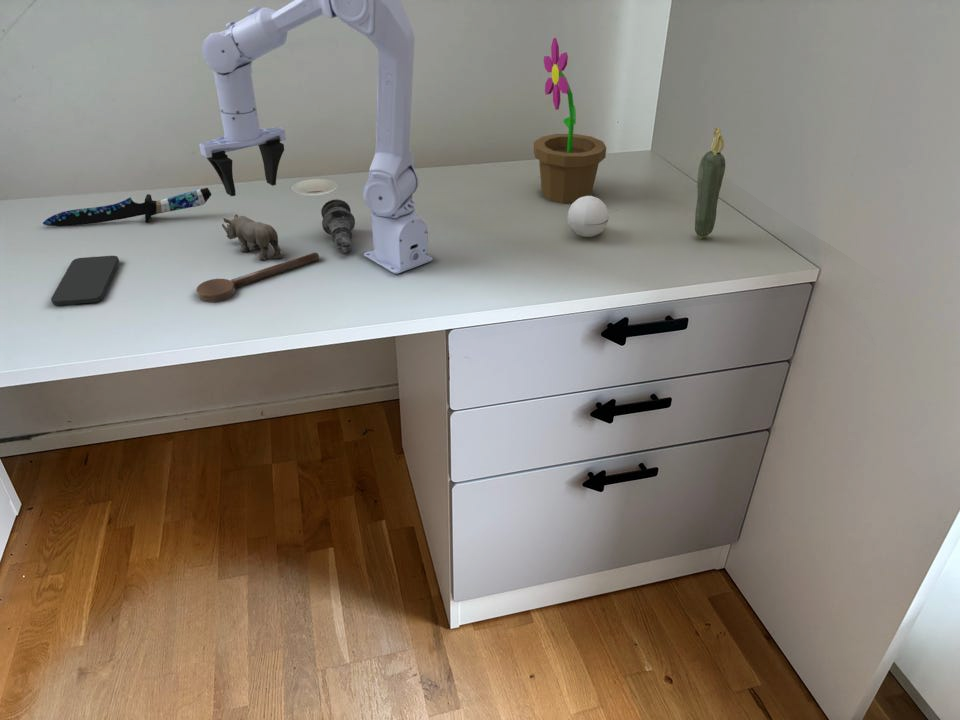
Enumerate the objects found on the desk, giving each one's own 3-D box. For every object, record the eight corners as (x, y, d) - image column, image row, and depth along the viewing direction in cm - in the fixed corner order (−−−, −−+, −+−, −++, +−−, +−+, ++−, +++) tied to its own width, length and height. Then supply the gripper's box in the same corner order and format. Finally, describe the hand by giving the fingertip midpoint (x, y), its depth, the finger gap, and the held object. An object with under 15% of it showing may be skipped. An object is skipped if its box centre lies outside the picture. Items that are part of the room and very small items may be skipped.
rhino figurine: (235, 235, 139) (230, 204, 136) (287, 256, 132) (282, 223, 129) (217, 243, 136) (210, 211, 133) (268, 264, 129) (263, 231, 126)
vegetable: (712, 245, 137) (733, 134, 126) (687, 243, 138) (706, 132, 126) (710, 235, 140) (731, 126, 129) (686, 233, 141) (705, 124, 130)
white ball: (574, 246, 136) (577, 207, 132) (560, 229, 142) (563, 191, 138) (626, 240, 138) (631, 201, 134) (610, 224, 144) (614, 186, 140)
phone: (48, 302, 116) (73, 258, 129) (50, 306, 117) (74, 262, 129) (100, 298, 118) (119, 254, 130) (101, 302, 118) (121, 259, 130)
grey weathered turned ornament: (334, 230, 142) (343, 271, 134) (312, 211, 138) (320, 251, 130) (358, 212, 141) (369, 252, 133) (337, 192, 136) (347, 232, 128)
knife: (216, 207, 147) (209, 184, 144) (214, 213, 144) (206, 190, 142) (53, 231, 145) (43, 209, 142) (48, 237, 142) (38, 215, 140)
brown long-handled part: (310, 253, 133) (309, 246, 132) (327, 264, 129) (327, 257, 129) (191, 292, 121) (190, 284, 120) (207, 305, 118) (205, 297, 117)
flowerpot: (521, 185, 161) (527, 32, 144) (584, 178, 165) (597, 28, 148) (546, 210, 150) (556, 48, 133) (613, 203, 153) (630, 43, 137)
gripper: (266, 96, 132) (277, 173, 139) (185, 112, 124) (201, 192, 131) (287, 105, 127) (297, 184, 135) (204, 122, 119) (220, 204, 127)
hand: (251, 189), depth 133 cm, fingers open, 7 cm apart
